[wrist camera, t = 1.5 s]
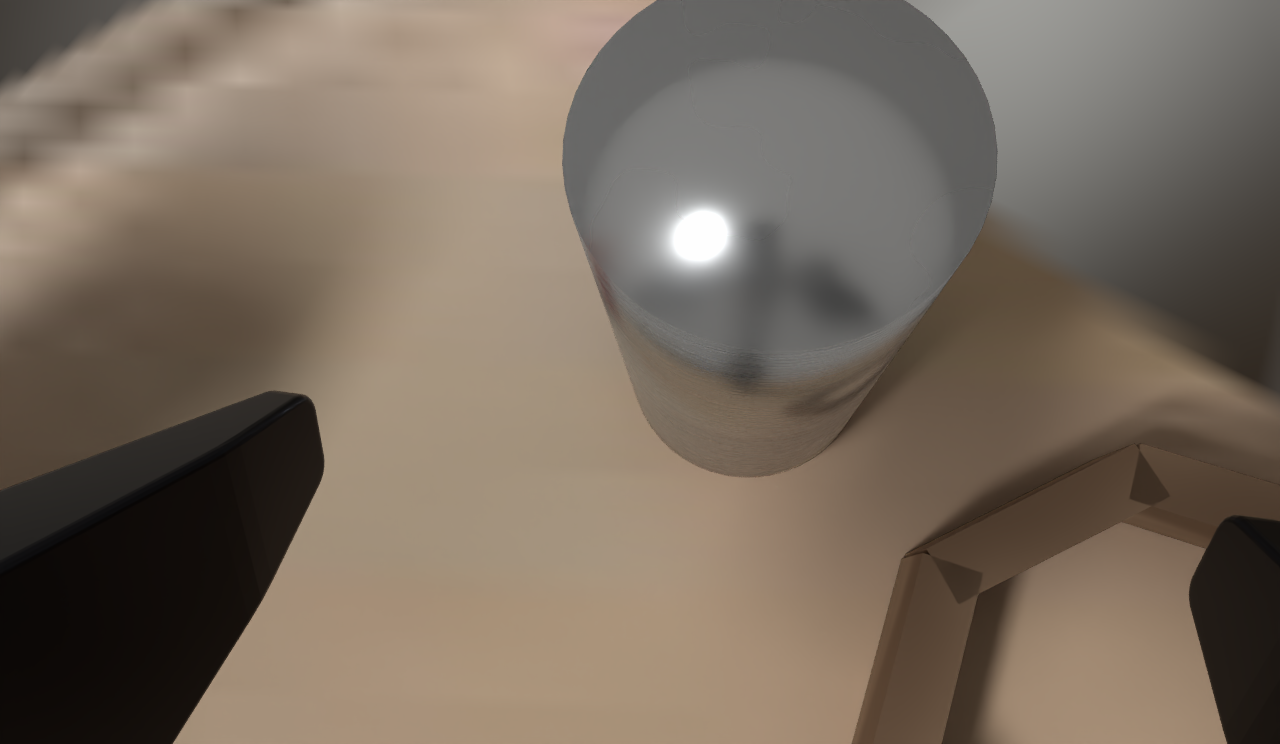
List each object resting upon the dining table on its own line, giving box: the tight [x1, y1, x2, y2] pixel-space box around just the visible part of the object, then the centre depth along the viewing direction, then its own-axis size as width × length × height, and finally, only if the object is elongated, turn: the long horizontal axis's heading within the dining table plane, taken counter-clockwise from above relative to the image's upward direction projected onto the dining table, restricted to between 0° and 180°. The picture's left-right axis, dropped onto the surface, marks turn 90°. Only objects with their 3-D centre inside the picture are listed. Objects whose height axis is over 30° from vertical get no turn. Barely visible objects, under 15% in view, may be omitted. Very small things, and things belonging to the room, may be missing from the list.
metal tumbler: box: [562, 0, 997, 477], centre depth 16 cm, size 6×6×10 cm
